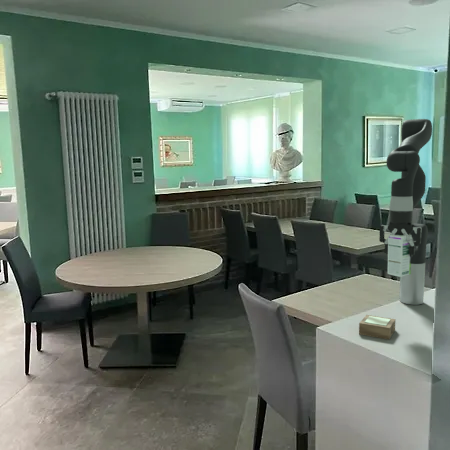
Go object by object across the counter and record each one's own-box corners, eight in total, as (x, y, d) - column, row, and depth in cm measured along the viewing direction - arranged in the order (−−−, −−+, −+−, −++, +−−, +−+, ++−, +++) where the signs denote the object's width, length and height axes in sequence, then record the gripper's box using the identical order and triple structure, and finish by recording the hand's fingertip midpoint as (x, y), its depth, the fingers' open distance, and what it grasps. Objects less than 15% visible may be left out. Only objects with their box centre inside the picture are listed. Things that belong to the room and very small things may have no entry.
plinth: (366, 325, 168) (366, 314, 168) (395, 330, 163) (395, 318, 163) (358, 334, 160) (359, 322, 159) (389, 339, 155) (389, 327, 154)
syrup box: (401, 277, 162) (403, 236, 159) (386, 274, 166) (388, 234, 164) (410, 274, 165) (412, 234, 163) (396, 271, 170) (397, 232, 167)
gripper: (424, 208, 162) (422, 255, 164) (382, 207, 169) (380, 251, 171) (421, 211, 155) (419, 259, 158) (377, 209, 163) (376, 255, 165)
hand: (399, 255), depth 165 cm, fingers closed on syrup box, 7 cm apart
